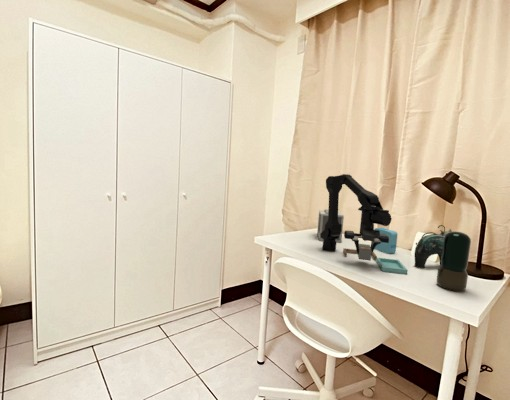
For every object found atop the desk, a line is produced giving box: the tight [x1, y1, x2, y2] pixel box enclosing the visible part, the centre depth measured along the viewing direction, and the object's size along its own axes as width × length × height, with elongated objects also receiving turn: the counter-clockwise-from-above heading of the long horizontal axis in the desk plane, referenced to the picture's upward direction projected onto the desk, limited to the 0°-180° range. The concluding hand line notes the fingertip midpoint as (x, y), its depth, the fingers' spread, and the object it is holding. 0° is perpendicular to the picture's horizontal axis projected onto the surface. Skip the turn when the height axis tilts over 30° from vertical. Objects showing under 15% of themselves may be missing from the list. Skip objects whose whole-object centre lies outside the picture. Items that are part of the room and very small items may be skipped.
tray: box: [375, 256, 408, 275], centre depth 129 cm, size 10×14×2 cm
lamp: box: [436, 230, 472, 292], centre depth 109 cm, size 10×10×22 cm
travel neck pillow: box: [414, 224, 453, 269], centre depth 133 cm, size 20×6×20 cm, turn 102°
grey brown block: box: [357, 243, 372, 262], centre depth 131 cm, size 5×9×5 cm, turn 163°
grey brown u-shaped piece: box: [342, 247, 378, 261], centre depth 144 cm, size 15×9×2 cm, turn 77°
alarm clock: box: [316, 208, 345, 244], centre depth 177 cm, size 18×13×18 cm
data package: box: [374, 227, 398, 254], centre depth 156 cm, size 12×4×12 cm, turn 24°
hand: (364, 254), depth 131 cm, fingers closed on grey brown block, 5 cm apart
